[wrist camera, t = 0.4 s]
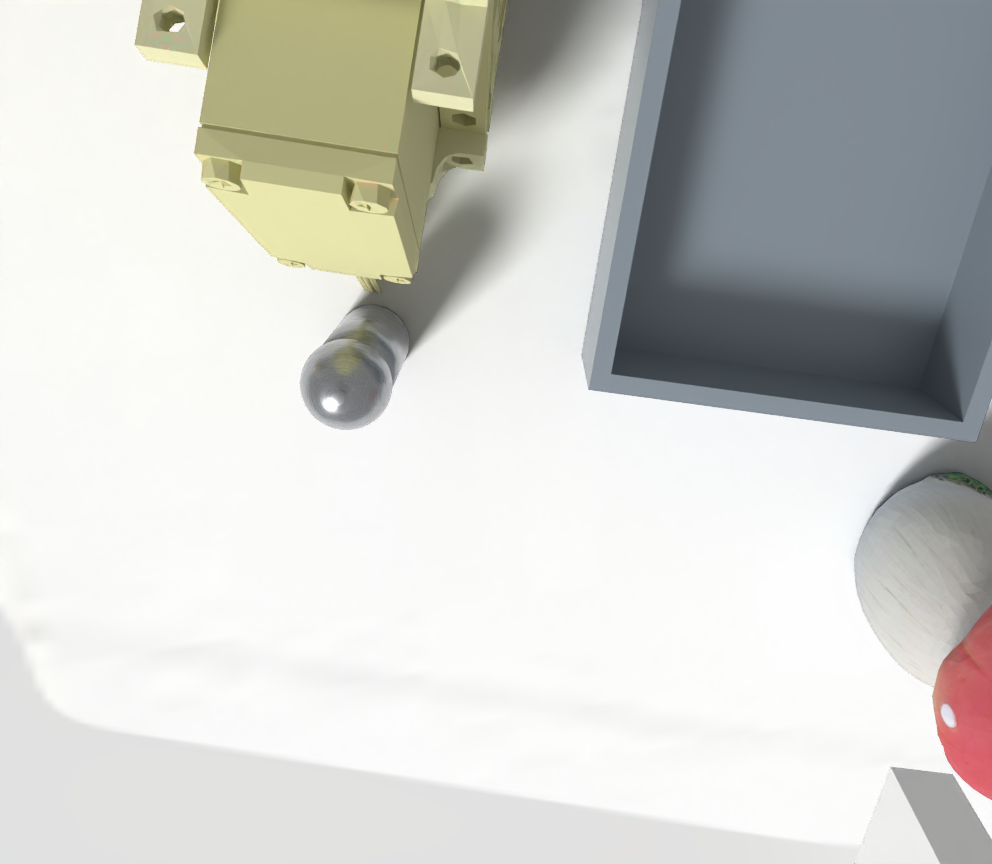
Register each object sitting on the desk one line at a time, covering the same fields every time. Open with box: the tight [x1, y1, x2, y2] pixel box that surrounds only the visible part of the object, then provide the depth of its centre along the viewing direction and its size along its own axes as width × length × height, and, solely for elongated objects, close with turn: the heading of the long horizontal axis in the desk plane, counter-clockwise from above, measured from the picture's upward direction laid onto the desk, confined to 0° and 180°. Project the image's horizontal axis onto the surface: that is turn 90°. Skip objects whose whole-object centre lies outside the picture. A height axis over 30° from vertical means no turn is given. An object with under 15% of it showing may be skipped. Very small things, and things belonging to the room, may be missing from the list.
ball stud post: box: [300, 305, 410, 430], centre depth 33 cm, size 3×3×7 cm
